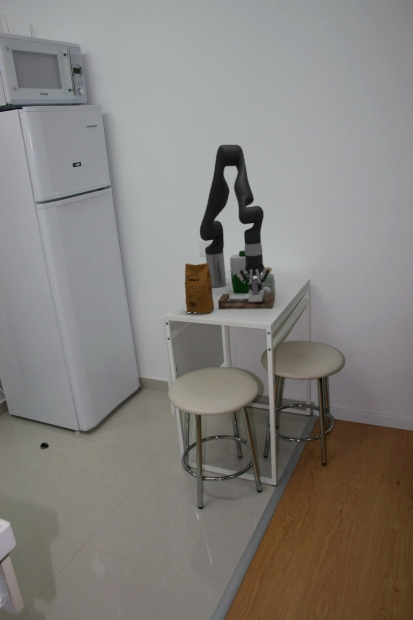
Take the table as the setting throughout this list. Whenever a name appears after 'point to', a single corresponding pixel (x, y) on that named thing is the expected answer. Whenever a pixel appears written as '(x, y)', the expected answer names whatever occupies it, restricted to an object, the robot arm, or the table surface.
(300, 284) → the table surface
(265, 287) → the cabinet
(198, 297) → the coffee package
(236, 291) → the milk carton
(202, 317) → the table surface
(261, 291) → the carriage
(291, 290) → the table surface
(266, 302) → the rail bed
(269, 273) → the button
